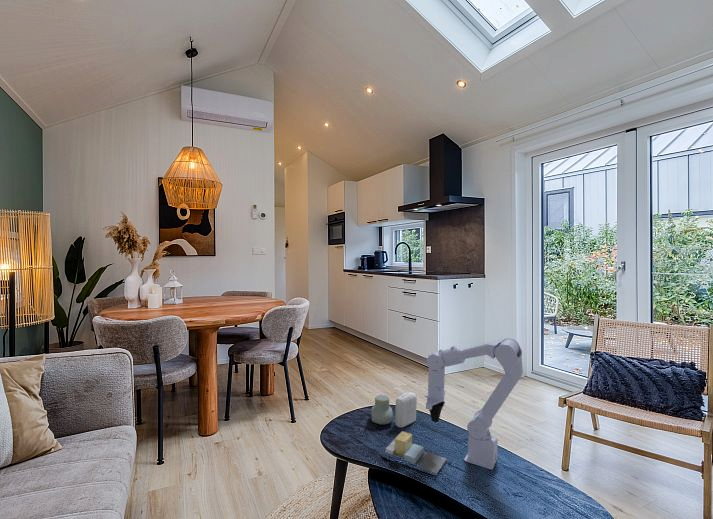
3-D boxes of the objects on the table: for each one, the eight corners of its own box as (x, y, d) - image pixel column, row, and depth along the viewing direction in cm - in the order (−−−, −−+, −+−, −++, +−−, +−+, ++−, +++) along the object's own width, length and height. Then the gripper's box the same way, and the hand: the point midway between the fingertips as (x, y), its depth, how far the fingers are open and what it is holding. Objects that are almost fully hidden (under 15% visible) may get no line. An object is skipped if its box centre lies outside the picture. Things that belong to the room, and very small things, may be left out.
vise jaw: (423, 452, 139) (423, 446, 139) (414, 463, 132) (414, 458, 132) (413, 449, 141) (413, 443, 141) (403, 460, 134) (403, 454, 134)
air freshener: (371, 414, 169) (371, 392, 168) (390, 415, 169) (391, 392, 168) (372, 427, 158) (372, 403, 157) (392, 428, 158) (393, 403, 157)
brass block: (412, 450, 140) (412, 434, 140) (405, 458, 135) (405, 442, 135) (401, 447, 142) (402, 431, 142) (394, 455, 137) (394, 438, 137)
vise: (446, 461, 136) (446, 452, 136) (436, 476, 127) (436, 467, 127) (394, 444, 146) (394, 436, 146) (381, 457, 138) (381, 449, 137)
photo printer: (409, 417, 167) (410, 388, 166) (417, 420, 164) (418, 391, 163) (393, 425, 160) (394, 395, 159) (401, 429, 157) (402, 399, 156)
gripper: (432, 376, 152) (431, 410, 153) (418, 389, 139) (417, 426, 141) (450, 380, 148) (449, 415, 149) (437, 393, 136) (436, 431, 137)
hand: (435, 421), depth 145 cm, fingers closed
